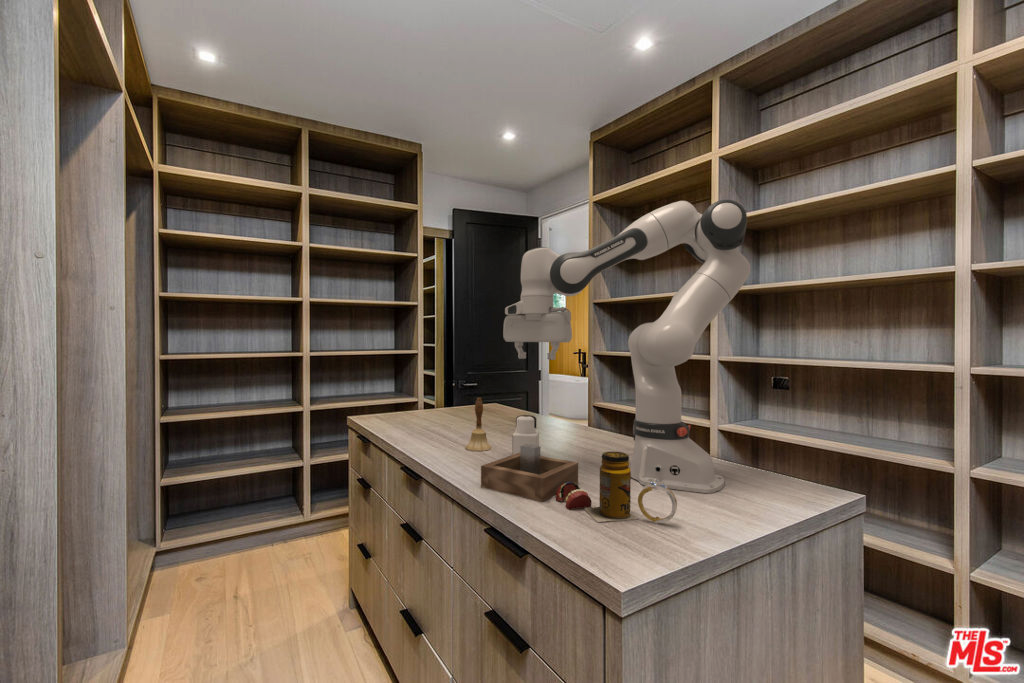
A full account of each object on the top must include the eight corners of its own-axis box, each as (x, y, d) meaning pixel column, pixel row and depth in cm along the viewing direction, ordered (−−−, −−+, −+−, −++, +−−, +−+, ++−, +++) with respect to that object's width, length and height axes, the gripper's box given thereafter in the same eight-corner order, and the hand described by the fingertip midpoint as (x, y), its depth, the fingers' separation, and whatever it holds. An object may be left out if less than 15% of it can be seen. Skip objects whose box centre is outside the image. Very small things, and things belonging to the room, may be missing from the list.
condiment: (638, 519, 92) (639, 457, 92) (597, 523, 90) (598, 459, 90) (621, 506, 99) (622, 448, 99) (583, 509, 98) (583, 450, 97)
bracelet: (678, 524, 90) (678, 481, 90) (673, 530, 87) (673, 486, 87) (641, 516, 94) (642, 475, 94) (636, 521, 91) (636, 479, 91)
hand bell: (497, 448, 151) (497, 397, 151) (477, 452, 145) (477, 400, 145) (479, 444, 157) (479, 395, 157) (459, 448, 151) (460, 397, 151)
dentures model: (570, 491, 96) (554, 480, 104) (569, 512, 96) (553, 499, 104) (594, 489, 98) (577, 479, 106) (594, 510, 98) (577, 498, 106)
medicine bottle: (515, 453, 144) (515, 413, 144) (539, 454, 143) (539, 414, 143) (512, 459, 137) (512, 417, 137) (537, 460, 136) (537, 418, 136)
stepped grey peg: (544, 482, 114) (544, 445, 114) (530, 488, 110) (530, 449, 109) (530, 479, 117) (530, 442, 117) (515, 485, 112) (516, 447, 112)
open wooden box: (578, 483, 115) (578, 462, 115) (542, 501, 102) (543, 478, 102) (519, 471, 125) (519, 452, 125) (480, 487, 112) (480, 465, 112)
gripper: (576, 307, 126) (576, 359, 126) (513, 309, 138) (513, 357, 138) (564, 306, 121) (564, 360, 121) (500, 308, 133) (499, 358, 133)
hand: (536, 359), depth 130 cm, fingers open, 8 cm apart
